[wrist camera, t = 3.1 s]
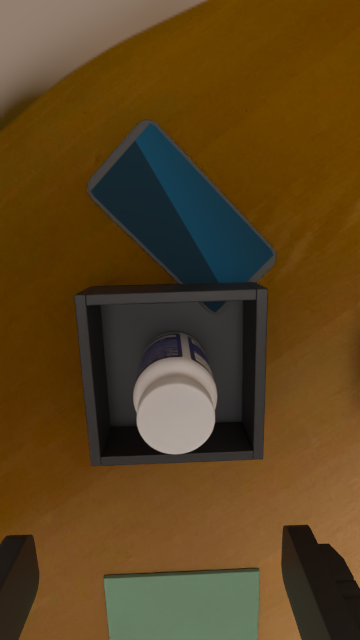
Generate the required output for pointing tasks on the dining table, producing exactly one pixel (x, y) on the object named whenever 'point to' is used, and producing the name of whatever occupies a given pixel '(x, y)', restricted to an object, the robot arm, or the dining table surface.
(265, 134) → the dining table surface
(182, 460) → the black box
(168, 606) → the mat
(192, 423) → the pill bottle
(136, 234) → the smartphone
